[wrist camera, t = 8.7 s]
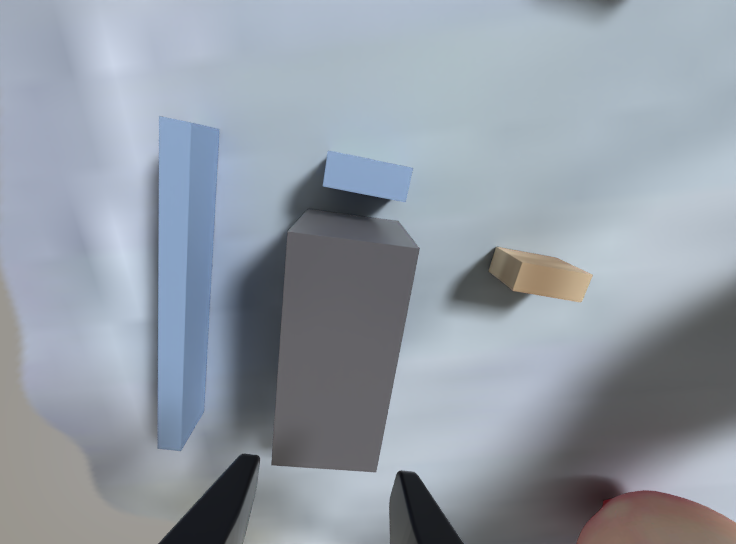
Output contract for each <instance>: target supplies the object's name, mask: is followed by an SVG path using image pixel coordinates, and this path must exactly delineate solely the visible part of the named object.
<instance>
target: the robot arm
mask: <svg viewBox="0 0 736 544" xmlns="http://www.w3.org/2000/svg"><path fill="white" fill-rule="evenodd" d="M259 465H260V457H259V456H258V455H251V454H241V455H240V456H239V457H238V458H237V459H236V460H235V461H234V462H233V463H232V464H231V465H230V466H229V467H228V469H227V470H226V471H225V472H224V473H223V474H222V475H221V476H220V477H219V478H218V479H217V480H216V482H215V483H214V484H213V485H212V486H211V487H210V488H209V489H208V490H207V491H206V492H205V493H204V495H203V496H202V497H201V498H200V499H199V500H198V501H197V502H196V503H195V504H194V505H193V507H192V508H191V509H190V510H189V511H188V512H187V513H186V514H185V515H184V516H183V517H182V518H181V520H180V521H179V522H178V523H177V524H176V525H175V526H174V527H173V528H172V529H171V530H170V532H169V533H168V534H167V535H166V536H165V537H164V538H163V539H162V540H161V541H160V543H158V544H243V541H244V537H245V533H246V529H247V525H248V521H249V517H250V513H251V509H252V505H253V501H254V497H255V493H256V488H257V481H258V473H259ZM389 519H390V544H464V543H463V542H462V540H461V539H460V537H459V536H458V534H457V533H456V531H455V530H454V528H453V527H452V525H451V524H450V522H449V521H448V519H447V518H446V516H445V515H444V513H443V512H442V510H441V509H440V507H439V506H438V504H437V503H436V501H435V500H434V498H433V497H432V495H431V494H430V493H429V491H428V490H427V488H426V487H425V485H424V484H423V482H422V481H421V479H420V478H419V476H418V475H417V474H416V473H415V472H411V471H398V473H397V475H396V478H395V481H394V485H393V488H392V492H391V496H390V502H389Z"/></svg>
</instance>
